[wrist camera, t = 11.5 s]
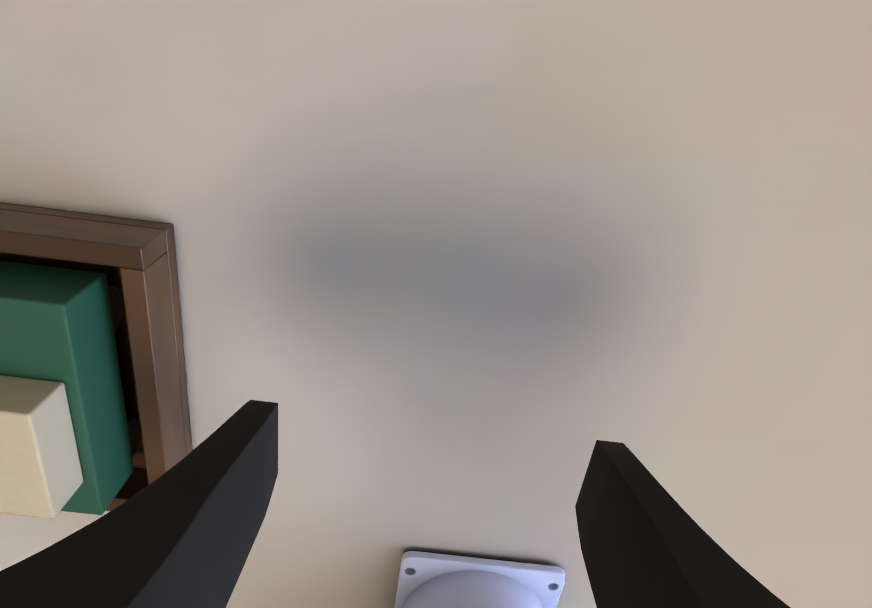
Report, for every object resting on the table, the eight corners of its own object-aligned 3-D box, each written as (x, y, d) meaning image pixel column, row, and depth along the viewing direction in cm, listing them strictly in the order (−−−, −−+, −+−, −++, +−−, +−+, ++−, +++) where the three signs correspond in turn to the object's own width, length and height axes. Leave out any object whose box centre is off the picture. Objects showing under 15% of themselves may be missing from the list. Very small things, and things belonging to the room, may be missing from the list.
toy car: (145, 454, 24) (74, 556, 20) (27, 441, 24) (-73, 541, 20) (120, 262, 20) (23, 333, 16) (-22, 245, 20) (-162, 311, 16)
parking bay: (194, 477, 26) (171, 518, 24) (6, 456, 26) (-35, 496, 23) (173, 223, 20) (141, 247, 18) (-67, 193, 20) (-128, 214, 18)
